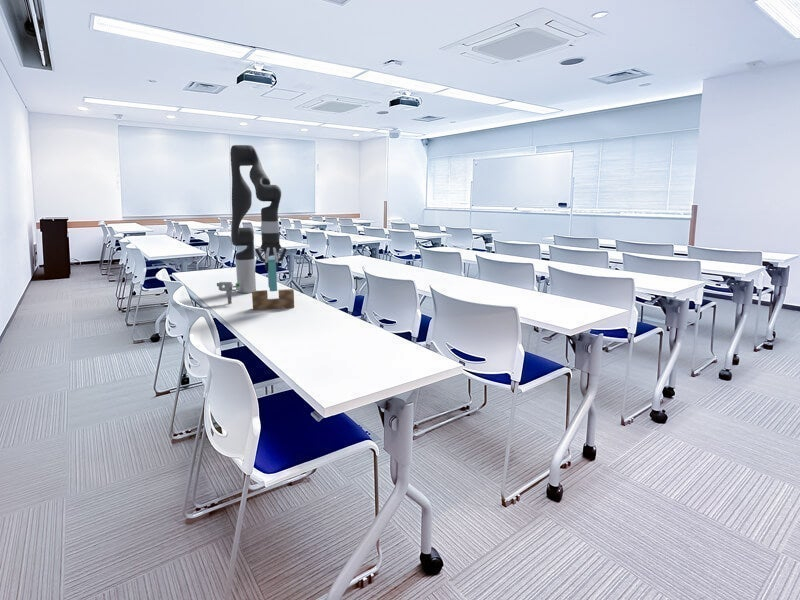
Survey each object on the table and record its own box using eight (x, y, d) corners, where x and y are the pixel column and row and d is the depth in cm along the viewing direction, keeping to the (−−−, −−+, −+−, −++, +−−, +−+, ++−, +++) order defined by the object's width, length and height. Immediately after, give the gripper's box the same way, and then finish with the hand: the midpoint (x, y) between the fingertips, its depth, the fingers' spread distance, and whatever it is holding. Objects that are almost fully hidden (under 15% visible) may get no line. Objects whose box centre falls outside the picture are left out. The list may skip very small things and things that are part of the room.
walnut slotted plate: (253, 309, 211) (252, 292, 209) (252, 308, 213) (251, 290, 212) (294, 307, 216) (293, 290, 215) (293, 306, 219) (293, 289, 217)
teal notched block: (277, 291, 208) (275, 261, 205) (270, 291, 207) (268, 261, 204) (275, 286, 219) (274, 257, 216) (268, 286, 218) (267, 258, 215)
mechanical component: (239, 304, 220) (238, 283, 218) (217, 304, 221) (216, 282, 218) (241, 303, 223) (240, 282, 221) (220, 302, 224) (218, 281, 221)
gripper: (253, 232, 202) (255, 272, 206) (287, 232, 206) (288, 271, 210) (253, 231, 209) (255, 270, 213) (285, 230, 213) (287, 269, 217)
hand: (272, 270), depth 211 cm, fingers closed on teal notched block, 3 cm apart
